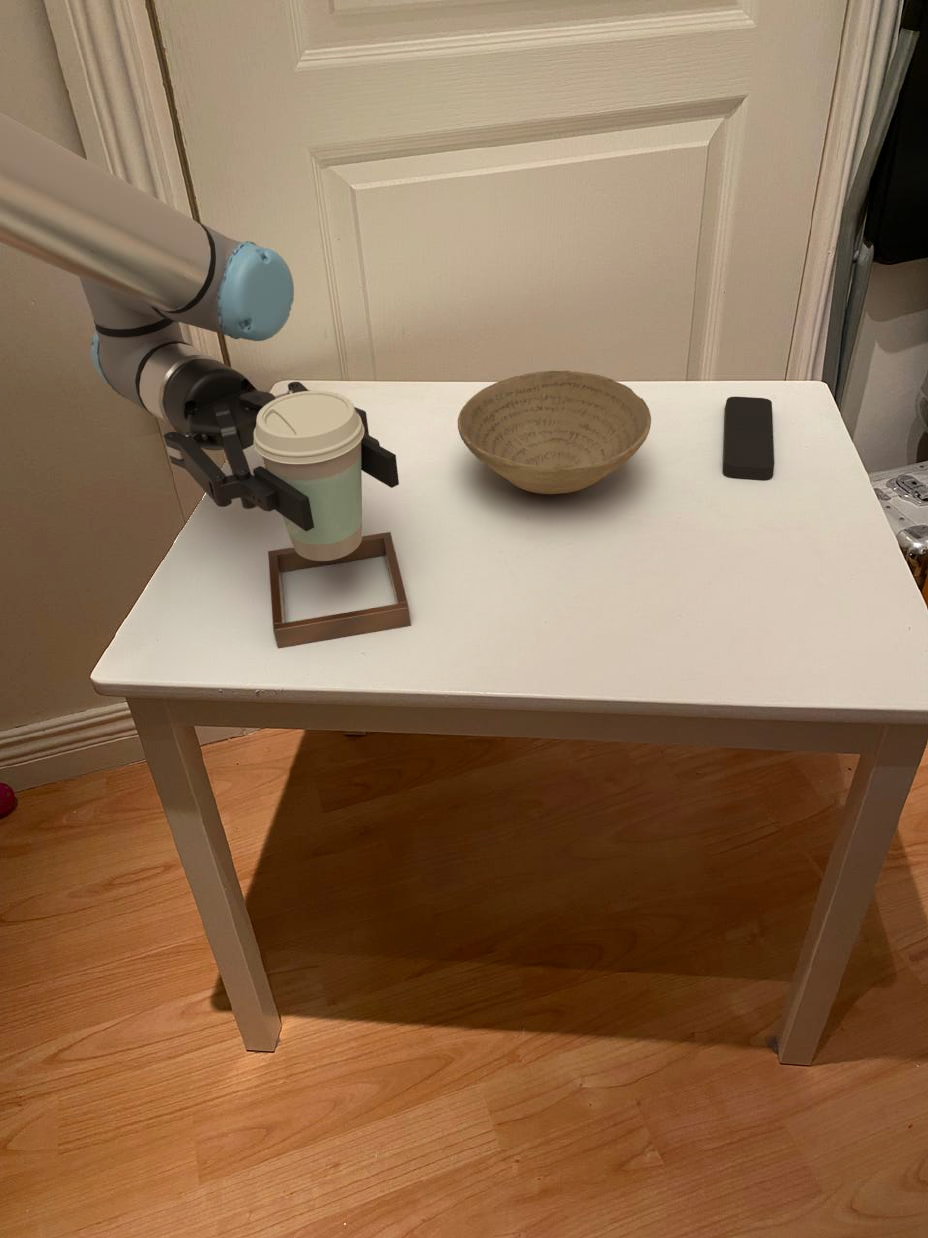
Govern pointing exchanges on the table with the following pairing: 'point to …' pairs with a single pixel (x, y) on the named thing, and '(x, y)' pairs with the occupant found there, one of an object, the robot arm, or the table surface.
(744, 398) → the remote control
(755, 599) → the table surface
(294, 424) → the coffee cup
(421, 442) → the table surface
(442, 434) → the table surface
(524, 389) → the bowl
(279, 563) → the wooden square frame
